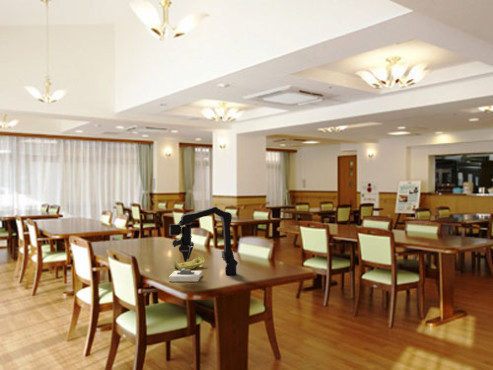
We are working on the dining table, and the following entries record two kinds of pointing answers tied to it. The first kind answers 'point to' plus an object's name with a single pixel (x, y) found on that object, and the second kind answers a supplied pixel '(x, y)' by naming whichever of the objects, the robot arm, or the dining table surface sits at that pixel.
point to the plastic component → (190, 264)
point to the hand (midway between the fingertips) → (186, 260)
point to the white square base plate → (185, 276)
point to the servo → (185, 271)
